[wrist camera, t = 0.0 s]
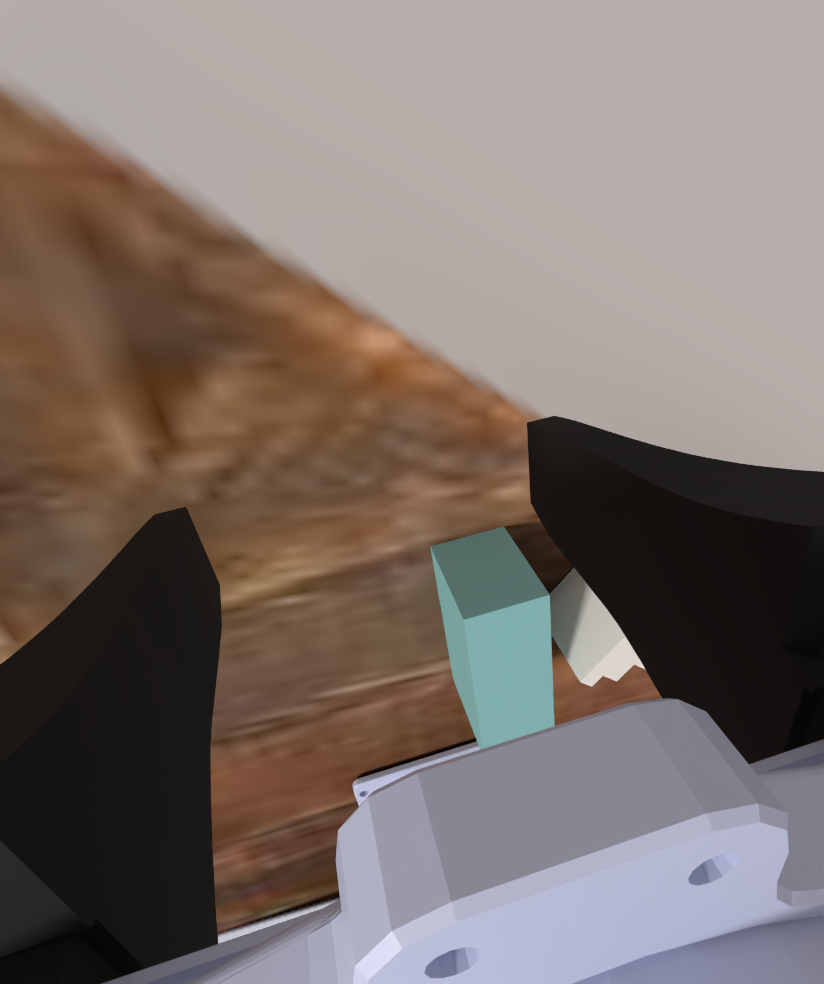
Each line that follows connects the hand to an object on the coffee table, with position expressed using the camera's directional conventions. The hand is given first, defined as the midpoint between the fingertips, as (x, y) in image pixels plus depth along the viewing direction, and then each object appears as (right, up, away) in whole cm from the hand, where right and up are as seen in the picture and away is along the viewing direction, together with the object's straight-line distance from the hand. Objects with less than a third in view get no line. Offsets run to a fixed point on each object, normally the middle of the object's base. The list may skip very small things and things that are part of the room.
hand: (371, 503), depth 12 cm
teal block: (+4, -5, +17) cm, 18 cm away
